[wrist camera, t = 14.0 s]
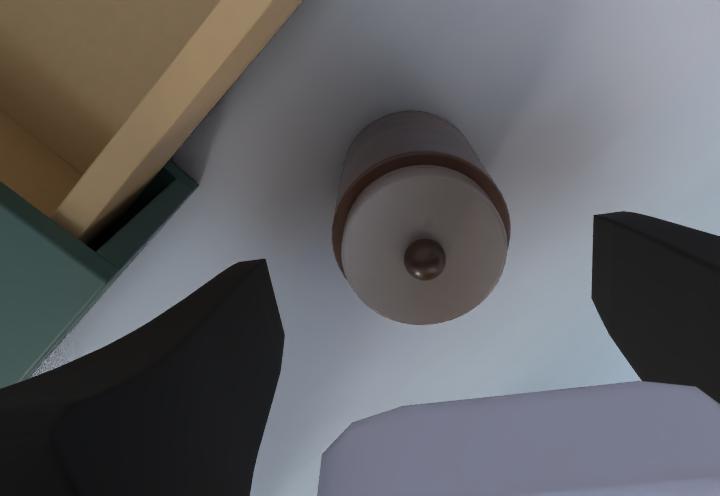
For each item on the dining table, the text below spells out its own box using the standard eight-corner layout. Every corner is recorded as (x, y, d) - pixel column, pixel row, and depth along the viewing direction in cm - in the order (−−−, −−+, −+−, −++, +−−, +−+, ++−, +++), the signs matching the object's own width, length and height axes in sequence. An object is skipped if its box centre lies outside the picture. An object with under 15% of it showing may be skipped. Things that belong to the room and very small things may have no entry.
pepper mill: (353, 246, 20) (344, 362, 14) (331, 121, 18) (308, 188, 12) (480, 230, 19) (531, 341, 13) (471, 100, 18) (525, 157, 11)
